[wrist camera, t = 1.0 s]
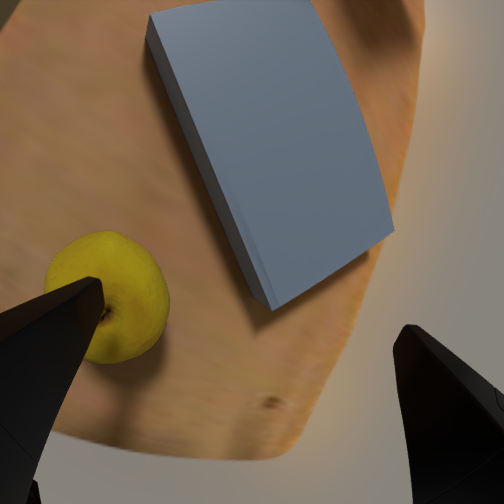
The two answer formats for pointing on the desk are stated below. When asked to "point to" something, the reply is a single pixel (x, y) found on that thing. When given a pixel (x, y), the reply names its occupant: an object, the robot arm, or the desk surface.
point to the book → (273, 138)
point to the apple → (116, 293)
